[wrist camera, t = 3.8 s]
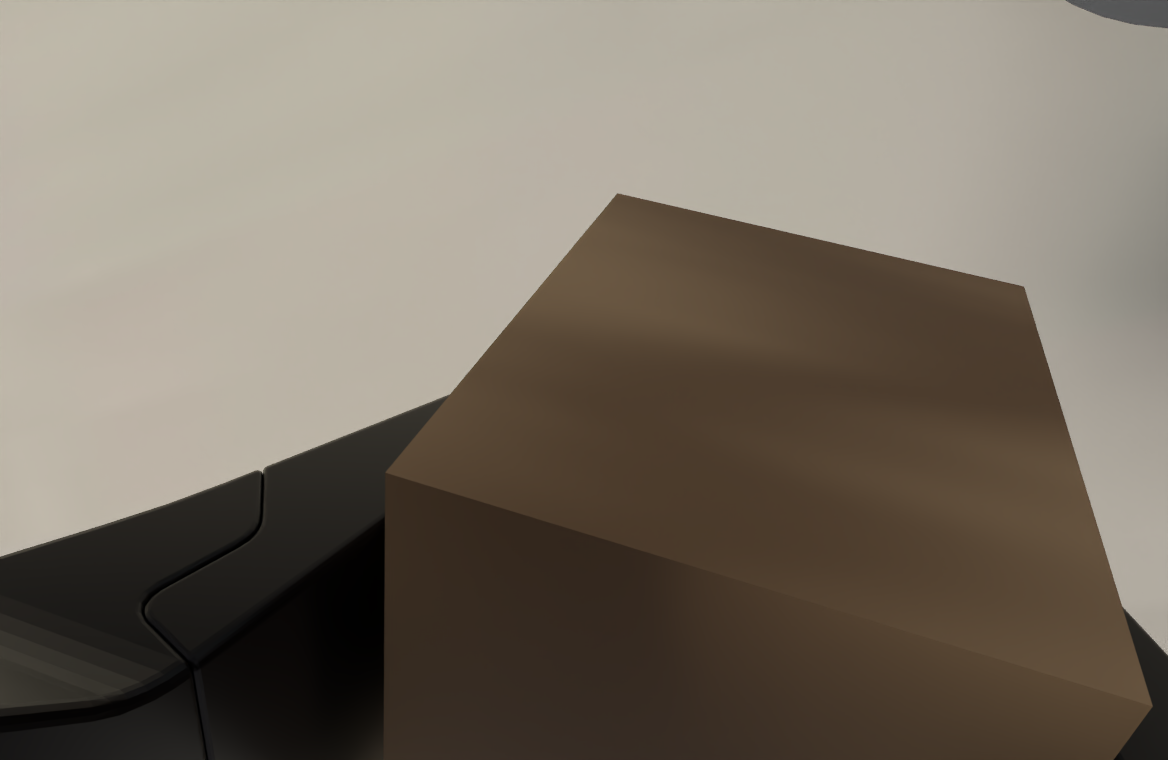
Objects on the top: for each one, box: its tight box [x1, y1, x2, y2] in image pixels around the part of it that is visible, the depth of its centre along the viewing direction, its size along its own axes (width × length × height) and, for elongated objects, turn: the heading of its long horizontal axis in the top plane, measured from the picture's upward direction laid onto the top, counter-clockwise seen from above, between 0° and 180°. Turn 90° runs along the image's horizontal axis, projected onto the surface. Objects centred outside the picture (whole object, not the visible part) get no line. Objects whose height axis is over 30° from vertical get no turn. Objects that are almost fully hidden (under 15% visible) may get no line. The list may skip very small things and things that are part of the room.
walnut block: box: [384, 193, 1153, 760], centre depth 8 cm, size 4×4×5 cm
